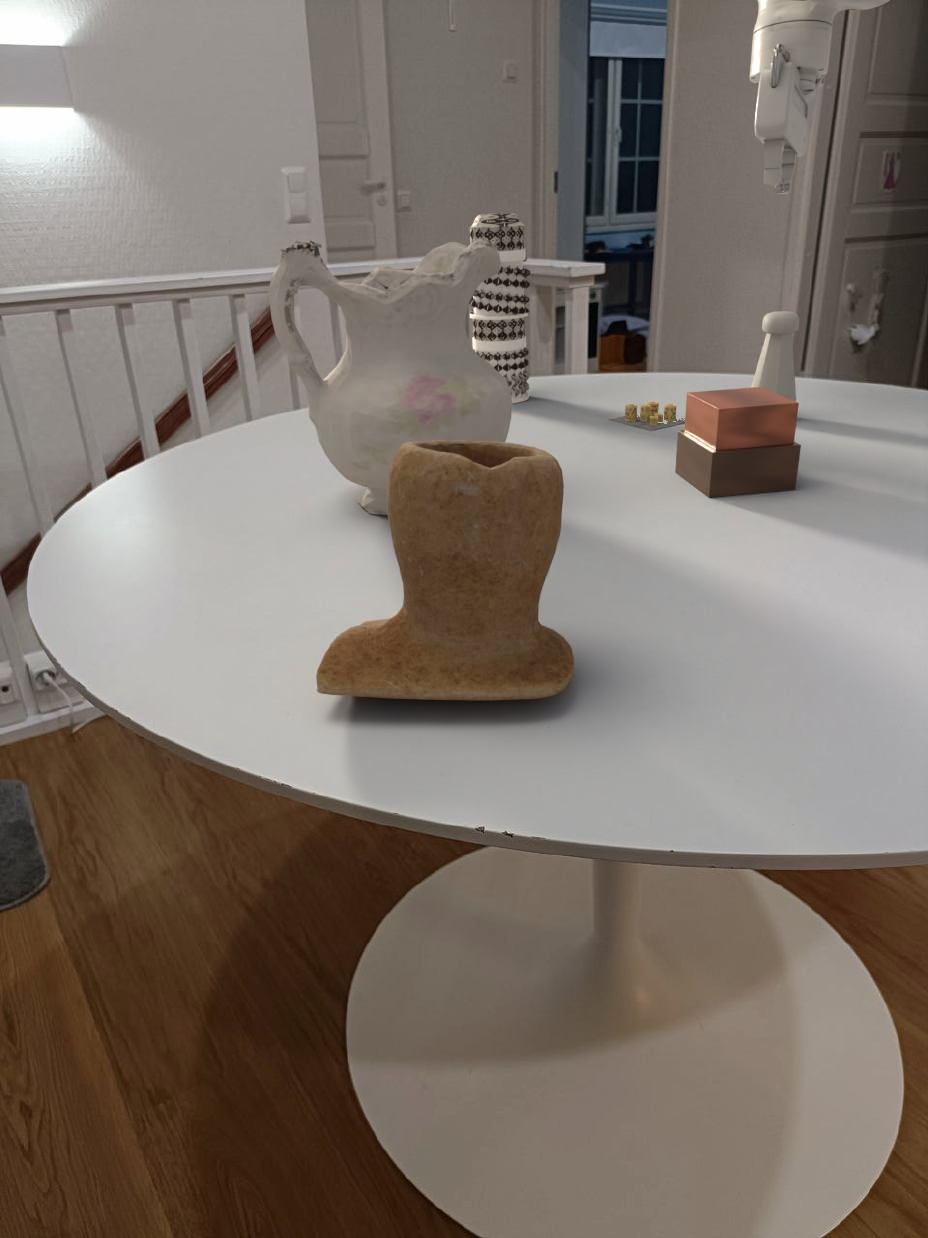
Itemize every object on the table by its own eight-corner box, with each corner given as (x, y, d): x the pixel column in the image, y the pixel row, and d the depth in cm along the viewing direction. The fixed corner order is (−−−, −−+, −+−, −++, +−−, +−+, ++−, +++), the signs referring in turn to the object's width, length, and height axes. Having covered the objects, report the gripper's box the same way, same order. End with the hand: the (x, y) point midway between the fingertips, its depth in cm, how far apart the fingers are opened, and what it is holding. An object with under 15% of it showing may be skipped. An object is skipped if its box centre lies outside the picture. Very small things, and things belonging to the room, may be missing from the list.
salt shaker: (737, 418, 114) (747, 313, 108) (761, 410, 117) (772, 307, 111) (778, 425, 110) (791, 316, 104) (802, 416, 113) (816, 310, 107)
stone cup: (573, 632, 61) (576, 416, 54) (574, 726, 50) (578, 471, 44) (359, 630, 63) (337, 420, 56) (316, 720, 52) (283, 474, 46)
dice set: (622, 419, 116) (623, 405, 115) (651, 413, 118) (651, 399, 117) (650, 426, 112) (650, 411, 111) (678, 420, 114) (679, 405, 113)
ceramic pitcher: (352, 563, 77) (333, 259, 65) (265, 494, 91) (236, 233, 79) (546, 511, 88) (561, 241, 75) (442, 456, 102) (440, 222, 89)
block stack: (754, 465, 95) (763, 385, 91) (795, 489, 87) (806, 403, 83) (675, 472, 94) (680, 391, 90) (708, 497, 86) (716, 410, 82)
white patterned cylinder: (464, 394, 134) (457, 214, 123) (523, 389, 136) (521, 211, 125) (475, 407, 126) (469, 215, 115) (538, 401, 128) (537, 212, 117)
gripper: (808, 34, 94) (793, 178, 99) (825, 75, 111) (812, 195, 116) (747, 42, 97) (736, 182, 101) (773, 81, 114) (763, 198, 118)
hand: (777, 189), depth 109 cm, fingers open, 8 cm apart
